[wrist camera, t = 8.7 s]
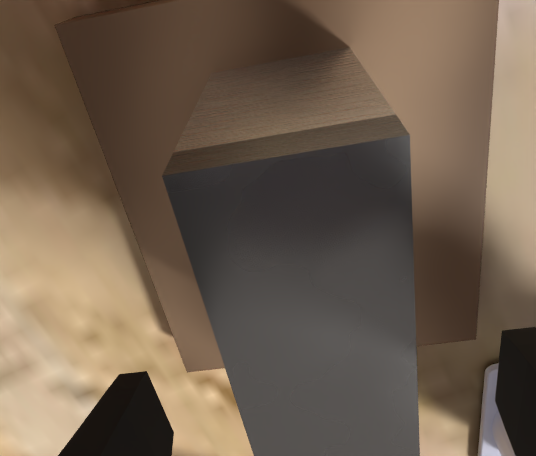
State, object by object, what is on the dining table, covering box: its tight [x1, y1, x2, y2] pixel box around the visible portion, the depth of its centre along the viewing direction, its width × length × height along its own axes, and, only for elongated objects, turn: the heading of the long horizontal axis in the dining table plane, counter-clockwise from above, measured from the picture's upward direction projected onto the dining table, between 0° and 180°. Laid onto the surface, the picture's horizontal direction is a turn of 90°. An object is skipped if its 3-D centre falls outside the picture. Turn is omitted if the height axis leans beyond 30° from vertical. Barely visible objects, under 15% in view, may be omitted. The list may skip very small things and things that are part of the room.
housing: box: [162, 47, 420, 456], centre depth 13 cm, size 4×10×7 cm, turn 11°
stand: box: [55, 0, 499, 372], centre depth 17 cm, size 12×14×2 cm
